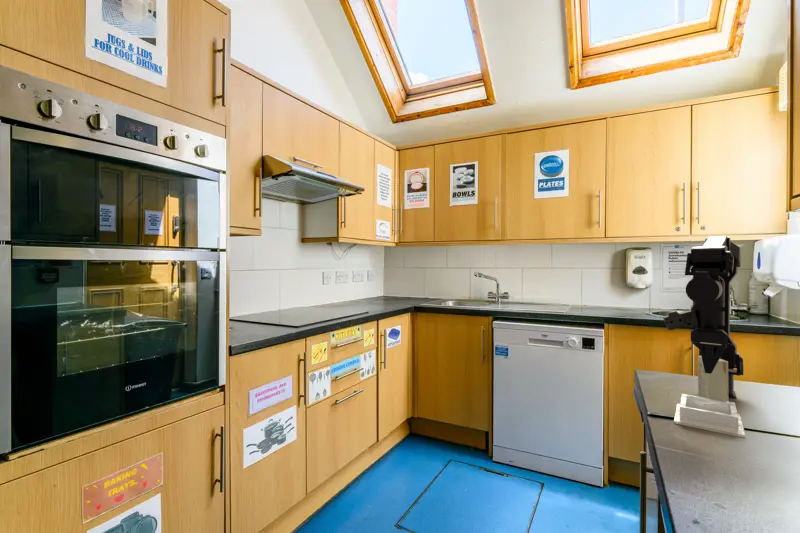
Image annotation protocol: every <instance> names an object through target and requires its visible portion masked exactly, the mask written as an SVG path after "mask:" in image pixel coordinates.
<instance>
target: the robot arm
mask: <svg viewBox="0 0 800 533" xmlns="http://www.w3.org/2000/svg"><path fill="white" fill-rule="evenodd" d="M741 254H742V253H741V247H740V246H738V245H736V244H735V243H734V242H732V241H731V236H727V235H717V236H713V235H712V236H708V237H706V238H705V240H704V243H703V245H701V246H692V247H691V249H690V251H687V255H686V262H685V269H684V276H692V279H690V280H689V281H688V282H687V283H686V286H685V293H686V296H687V297H688V298H689V300H690V301H692V304H691V305H690V309H689V310H685V311H681V312H678V311H677V310H675V311H672V312H671V311H669V312H668V314H667V315H664V316H663V318H662V319H663V321H664V324H665V326H666V328H667V331H674V330H676V329H679V328H683V327H684V328H685V327H688V326H690V328H691V330H690V343H691V344H692V345H694V346H695V347H696V348H697V349H698V350H699V356H701V357H702V362H703V366H704V370H705V373H709V374H711V373H712V372H713V370H714V368H715V366H716V364H717V362H718V361H719V359H723V360H725V361H728V389H729V398H731V399H737V395H736V391H735V388H734V382H735V380H734V379H735V377H734V376H738V377H740V376H744V375H745V374H744V358H742V356H741V353H740V352H738V346H737V344H736V342H734V340H733V338H732V337H731V334H730V330H731V328H730V327H731V326H730V325H731V323H730V322H731V319H730V318H731V311H730V310H731V309H730V308H731V282H732V281H733V280H734V279H735V277H736V276H737V275H738V268H742V267H741V266H742V256H741Z"/></svg>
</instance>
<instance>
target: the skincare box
mask: <svg viewBox="0 0 800 533" xmlns="http://www.w3.org/2000/svg"><path fill="white" fill-rule="evenodd" d="M697 396H699V397H705V398H711V399H717V400H723V401H729V400H730V399H729V389H728V361H725V360H723V359H719V361H718V362H717V364H716V366H715V368H714V370H713V372H712V373H711V374H709V373H705V370H704V366H703V362H702V357H701V356H700V355H697ZM729 402H730V401H729Z"/></svg>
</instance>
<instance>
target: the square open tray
mask: <svg viewBox="0 0 800 533" xmlns="http://www.w3.org/2000/svg"><path fill="white" fill-rule="evenodd" d="M675 408H676V409H675V414H674V419H673V423H674V425H675V424H676V425H680V426H686V427H689V428H694V429H700V430H705V431H709V432H714V433H718V434H724V435H729V436H733V437H738V438H743V439H744V438H746V433H745V428H744V426H743V420H742V418H741V414H738V411H737V406H736V403H735V402H734V401H723V400H717V399H711V398H705V397H699V396H698V395H691V394H686V393H681V396H680V403H676V407H675Z"/></svg>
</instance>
